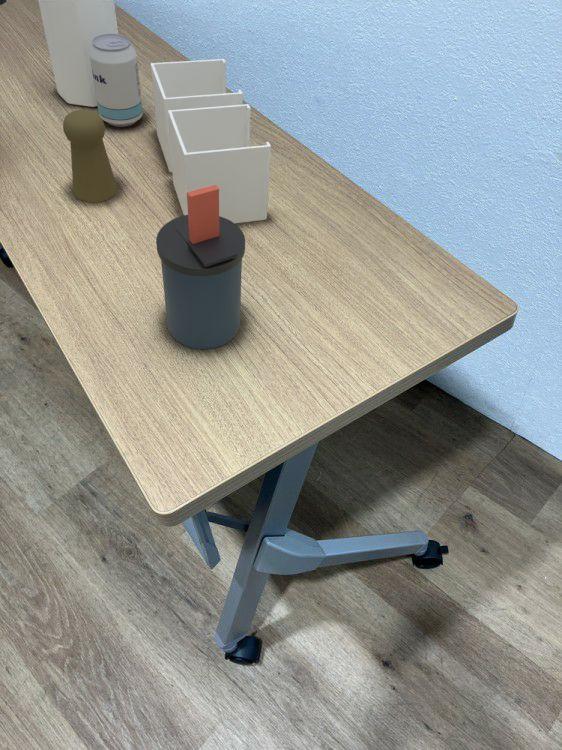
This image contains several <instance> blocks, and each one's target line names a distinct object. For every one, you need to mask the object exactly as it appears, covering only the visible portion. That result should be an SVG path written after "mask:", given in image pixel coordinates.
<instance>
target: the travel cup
mask: <svg viewBox="0 0 562 750" xmlns="http://www.w3.org/2000/svg"><path fill="white" fill-rule="evenodd" d="M219 233H220V234H221V235H222V236H223V237H224V239H225V240H226V241H227V242H228V243H229V245H230V246H231V247H232V248H233V249H234V251H235V252H236V253H237V257H235V258H232V259H229V260H226V261H223V262H220V263H217V264H214V265H210V266H207V267H204V266H203V265H202V263H201V262H200V261H199V260H198V258H197V257H196V256H195V254H194V253H193V252H192V250H191V249H190V248H189V246H188V245H187V241H188V240H189V225H188V215H184V214H183V215H181V216H178V217H175V218H173V219H170V220H169V221H167V222H166V223H165V224H163V226H162V227H160V229H159V231H158V233H157V235H156V240H155V245H156V252H157V255H158V257H159V259H160V263H161V275H162V283H163V292H164V293H163V294H164V303H165V304H164V305H165V313H166V323H167V329H168V332H169V334H170V335H171V337H172V338H173V339H174V340H175V341H176V342H178V344H181V345H182V346H185V347H188V348H191V349H196V350H210V349H216V348H219V347H222V346H224V345H227V344H228V343H229V342H231V341H232V340H233V339H234V338H235V337H236V335H237V334H238V333H239V331H240V327H241V303H242V269H243V268H242V267H243V265H242V264H243V258H244V256H245V254H246V253H245V252H246V251H245V250H246V237H245V234H244V232H243V231H242V229H241V228H240V227H239V226H238V225H237V223H233V222H232V221H230V220H228V219H226V218H223V217H221V216H219Z"/></svg>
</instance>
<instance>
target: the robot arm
mask: <svg viewBox="0 0 562 750" xmlns="http://www.w3.org/2000/svg"><path fill="white" fill-rule="evenodd" d="M6 3H7V0H0V6H2V5H4V4H6Z"/></svg>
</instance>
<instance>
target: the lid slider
mask: <svg viewBox="0 0 562 750" xmlns="http://www.w3.org/2000/svg"><path fill="white" fill-rule="evenodd" d="M187 206H188V225H189V240H188V241H187V245H188V246H189V248H190V249H191V250H192V252H193V253H194V254H195V256H196V257H197V258H198V260H199V261H200V262H201V263H202V265H203V266H204V267H207V266H210V265H214V264H217V263H220V262H223V261H226V260H229V259H232V258H235V257H237V253H236V252H235V251H234V249H233V248H232V247H231V246H230V245H229V243H228V242H227V241H226V240H225V239H224V237H223V236H222V235H221V234H220V233H219V188H218V187H217V186H216V185H212V186H209V187H205V188H201V189H197V190H194V191H190V192H187Z"/></svg>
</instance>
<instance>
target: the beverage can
mask: <svg viewBox="0 0 562 750" xmlns="http://www.w3.org/2000/svg"><path fill="white" fill-rule="evenodd" d="M131 41H132V40H131V39H130V38H129V37H127V36H126V35H123V34H119V33H118V34H103V35H99V36H97V37H95V38H94V39H93V40H92V47H91V50H90V53H89V56H90V62H91V68H92V74H93V81H94V87H95V93H96V99H97V106H96V107H97V111H98V115H99V116H100V117H101V118H102V120H103V122H106V123H108V124H109V125H110V126H113V127H118V128H124V127H125V128H126V127H131V126H132V125H134V124H135V123H137V121H139V120H140V119H141V118H142V117H143V114H144V113H143V112H144V111H143V101H142V92H141V83H140V72H139V64H138V63H139V62H138V54H137V51H136V49H135V48H134V46H133V44H132V42H131Z"/></svg>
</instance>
